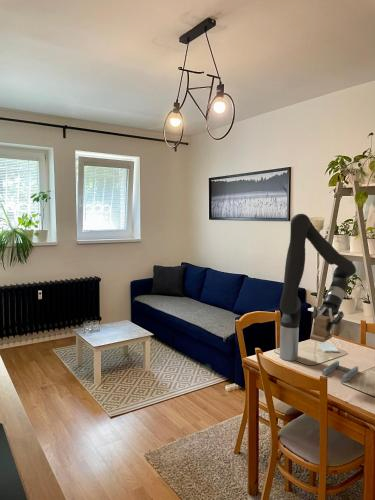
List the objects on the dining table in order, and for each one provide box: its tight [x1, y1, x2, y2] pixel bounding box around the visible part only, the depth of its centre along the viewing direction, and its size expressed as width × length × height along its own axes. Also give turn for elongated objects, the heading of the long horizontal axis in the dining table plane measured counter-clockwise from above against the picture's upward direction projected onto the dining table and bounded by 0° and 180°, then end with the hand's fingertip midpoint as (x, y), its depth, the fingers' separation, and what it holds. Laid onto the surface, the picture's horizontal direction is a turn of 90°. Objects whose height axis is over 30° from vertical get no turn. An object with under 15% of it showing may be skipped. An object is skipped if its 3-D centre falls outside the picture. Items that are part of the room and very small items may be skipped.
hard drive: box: [317, 342, 340, 353], centre depth 206 cm, size 2×8×12 cm
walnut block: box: [309, 315, 333, 343], centre depth 164 cm, size 9×6×10 cm, turn 135°
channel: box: [321, 360, 359, 383], centre depth 174 cm, size 16×10×2 cm, turn 135°
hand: (321, 328), depth 164 cm, fingers closed on walnut block, 5 cm apart
